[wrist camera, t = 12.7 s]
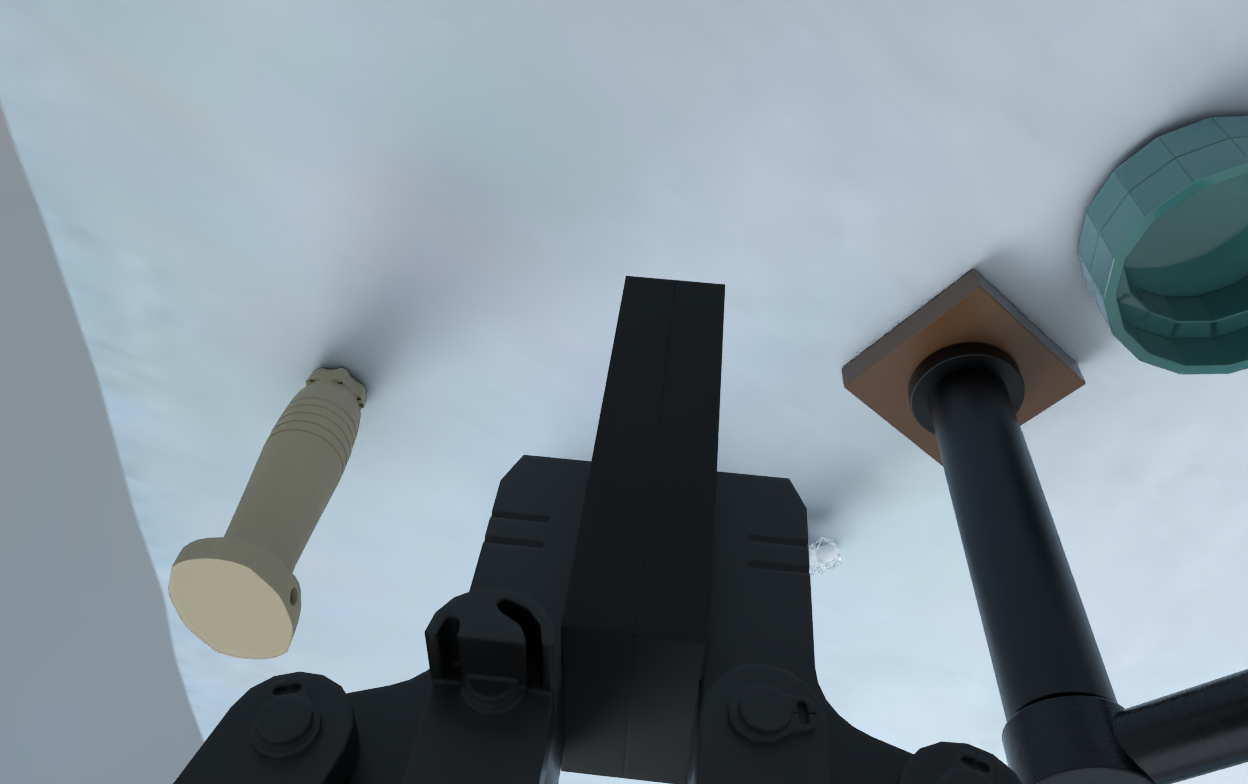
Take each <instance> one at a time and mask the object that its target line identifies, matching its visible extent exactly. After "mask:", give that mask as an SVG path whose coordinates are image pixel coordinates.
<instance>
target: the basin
mask: <svg viewBox="0 0 1248 784" xmlns="http://www.w3.org/2000/svg"><path fill="white" fill-rule="evenodd" d="M1078 255H1079V258H1080V262H1081V266H1082V269H1083V273H1084V277H1085V280H1086V284H1087V286H1088V288H1089V290H1090V292H1091V293H1092V295H1093V297H1094V299H1095V301H1096V303H1097V305H1098V307H1099V309H1100V311H1101V313H1102V315H1103V317H1104V319H1105V321H1106V323H1107V325H1108V326H1109V328H1110V330H1111V332H1112V334H1113V336H1114V337H1116V338H1117V339H1118V340H1119V341H1120V342H1121V343H1122V344H1123V345H1124V346H1125V347H1126V348H1127V349H1128V350H1129V351H1130V352H1131V353H1132V354H1133V355H1134V356H1135V357H1136V358H1137V359H1138V360H1140V361H1142V362H1145V363H1148V364H1151V365H1154V366H1157V367H1160V368H1163V369H1166V370H1169V371H1172V372H1175V373H1178V374H1229V373H1233V372H1237V371H1240V370H1244V369H1247V368H1248V116H1228V117H1212V118H1211V117H1209V118H1206V119H1204V120H1201V121H1198V122H1196V123H1193V124H1190V125H1188V126H1185V127H1182V128H1180V129H1177V130H1174V131H1172V132H1169V133H1166V134H1164V135H1161V136H1159V137H1157V138H1155V139H1154V140H1153V141H1151V142H1150V143H1149V144H1147V145H1146V146H1145V147H1143V148H1142V149H1141V150H1139V151H1138V152H1137V153H1135V154H1134V155H1133V156H1131V157H1130V158H1129V159H1127V160H1126V161H1125V162H1124V163H1122V164H1121V165H1120V166H1118V167H1117V168H1116V169H1115V170H1114V171H1113V172H1112V174H1111V175H1110V176H1109V178H1108V179H1107V181H1106V182H1105V184H1104V185H1103V186H1102V188H1101V189H1100V191H1099V192H1098V194H1097V195H1096V196H1095V198H1094V199H1093V201H1092V202H1091V204H1090V205H1089V206H1088V208H1087V211H1086V215H1085V219H1084V224H1083V228H1082V232H1081V237H1080V241H1079V246H1078Z"/></svg>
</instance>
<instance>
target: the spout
mask: <svg viewBox="0 0 1248 784" xmlns="http://www.w3.org/2000/svg"><path fill="white" fill-rule="evenodd" d="M1002 742H1003V746H1004V750H1005V754H1006V758H1007V762H1008V767H1009V768H1010V769H1012V770H1013V771H1014V772H1015V773H1016V775H1017V776H1018V777H1019V779H1020V780H1021V782H1022V783H1023V784H1172V783H1176V782H1179V781H1183V780H1186V779H1190V778H1193V777H1197V776H1200V775H1204V774H1207V773H1211V772H1214V771H1217V770H1221V769H1224V768H1228V767H1231V766H1235V765H1238V764H1242V763H1245V762H1248V669H1247V670H1244V671H1240V672H1237V673H1234V674H1231V675H1228V676H1225V677H1222V678H1219V679H1216V680H1213V681H1210V682H1207V683H1204V684H1201V685H1198V686H1195V687H1192V688H1189V689H1185V690H1182V691H1179V692H1176V693H1173V694H1170V695H1167V696H1164V697H1161V698H1158V699H1155V700H1152V701H1149V702H1146V703H1143V704H1140V705H1137V706H1133V707H1130V708H1127V709H1125V708H1123V707H1122V706H1120V705H1119V704H1117V703H1115V702H1112V701H1110V700H1107V699H1103V698H1099V697H1093V696H1083V695H1072V696H1061V697H1055V698H1050V699H1046V700H1043V701H1039V702H1037V703H1034V704H1032V705H1029V706H1027V707H1025V708H1024V709H1022V710H1020V711H1019V712H1017V713H1016V714H1015V715H1014V716H1012V718H1011V719H1010V720H1009V721H1008V722H1007V724H1006V725H1005V727H1004V729H1003V733H1002Z"/></svg>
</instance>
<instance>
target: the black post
mask: <svg viewBox="0 0 1248 784" xmlns="http://www.w3.org/2000/svg"><path fill="white" fill-rule="evenodd" d="M842 376H843V383H844V387H845V388H846V389H847V390H848V391H850V392H851V393H852V394H853V395H855V396H856V397H857V398H858V399H860V400H861V401H862V402H863V403H865V404H866V405H867V406H868V407H870V408H871V409H872V410H873V411H875V412H876V413H877V414H878V415H880V416H881V417H882V418H883V419H885V420H886V421H887V422H888V423H890V424H891V425H892V426H893V427H895V428H896V429H897V430H898V431H900V432H901V433H902V434H903V435H905V436H906V437H907V438H908V439H910V440H911V441H912V442H913V443H915V444H916V445H917V446H918V447H920V448H921V449H922V450H923V451H925V452H926V453H927V454H928V455H930V456H931V457H932V458H933V459H935V460H936V461H937V462H938V463H940V464H941V465H942V466H943V467H944V471H945V475H946V479H947V483H948V487H949V491H950V495H951V499H952V503H953V507H954V511H955V515H956V519H957V523H958V527H959V531H960V535H961V539H962V543H963V547H964V551H965V555H966V559H967V563H968V567H969V571H970V575H971V579H972V583H973V587H974V591H975V595H976V599H977V603H978V607H979V611H980V615H981V620H982V624H983V628H984V632H985V636H986V640H987V644H988V648H989V652H990V656H991V660H992V664H993V668H994V672H995V676H996V680H997V684H998V688H999V692H1000V696H1001V700H1002V704H1003V708H1004V712H1005V716H1006V720H1007V722H1008V721H1009V720H1010V719H1011V718H1012V716H1014V715H1015V714H1016V713H1017V712H1019V711H1020V710H1022V709H1024V708H1025V707H1027V706H1029V705H1032V704H1034V703H1037V702H1039V701H1043V700H1046V699H1050V698H1055V697H1061V696H1072V695H1083V696H1093V697H1099V698H1103V699H1107V700H1110V701H1112V702H1115V703H1117V700H1116V697H1115V695H1114V692H1113V689H1112V686H1111V683H1110V680H1109V678H1108V675H1107V672H1106V669H1105V666H1104V663H1103V661H1102V658H1101V655H1100V652H1099V649H1098V646H1097V643H1096V641H1095V638H1094V635H1093V632H1092V629H1091V626H1090V624H1089V621H1088V618H1087V615H1086V612H1085V609H1084V607H1083V604H1082V601H1081V598H1080V595H1079V592H1078V589H1077V587H1076V584H1075V581H1074V578H1073V575H1072V572H1071V570H1070V567H1069V564H1068V561H1067V558H1066V555H1065V553H1064V550H1063V547H1062V544H1061V541H1060V538H1059V536H1058V533H1057V530H1056V527H1055V524H1054V521H1053V518H1052V516H1051V513H1050V510H1049V507H1048V504H1047V501H1046V499H1045V496H1044V493H1043V490H1042V487H1041V484H1040V482H1039V479H1038V476H1037V473H1036V470H1035V467H1034V464H1033V462H1032V459H1031V456H1030V453H1029V450H1028V447H1027V445H1026V442H1025V439H1024V436H1023V433H1022V430H1021V428H1020V426H1021V425H1022V424H1024V423H1025V422H1027V421H1028V420H1030V419H1031V418H1033V417H1035V416H1036V415H1038V414H1039V413H1041V412H1042V411H1044V410H1045V409H1047V408H1049V407H1050V406H1052V405H1053V404H1055V403H1056V402H1058V401H1059V400H1061V399H1063V398H1064V397H1066V396H1067V395H1069V394H1070V393H1072V392H1073V391H1075V390H1077V389H1078V388H1080V387H1081V386H1083V385H1084V384H1085V380H1084V378H1083V376H1082V374H1081V372H1080V369H1079V367H1078V365H1077V364H1076V363H1075V362H1074V361H1073V360H1072V359H1071V358H1070V357H1068V356H1067V355H1066V354H1065V353H1064V352H1063V351H1062V350H1061V349H1060V348H1059V347H1058V346H1057V345H1055V344H1054V343H1053V342H1052V341H1051V340H1050V339H1049V338H1048V337H1047V336H1046V335H1045V334H1044V333H1042V332H1041V331H1040V330H1039V329H1038V328H1037V327H1036V326H1035V325H1034V324H1033V323H1032V322H1031V321H1030V320H1028V319H1027V318H1026V317H1025V316H1024V315H1023V314H1022V313H1021V312H1020V311H1019V310H1018V309H1017V308H1015V307H1014V306H1013V305H1012V304H1011V303H1010V302H1009V301H1008V300H1007V299H1006V298H1005V297H1004V296H1002V295H1001V294H1000V293H999V292H998V291H997V290H996V289H995V288H994V287H993V286H992V285H991V284H990V283H988V282H987V281H986V280H985V279H984V278H983V277H982V276H981V275H980V274H979V273H978V272H977V271H975V270H974V269H972V270H971V271H970V272H968V273H967V274H966V275H964V276H963V277H962V278H960V279H959V280H958V281H956V282H955V283H954V284H953V285H951V286H950V287H949V288H947V289H946V290H945V291H943V292H942V293H941V294H939V295H938V296H937V297H935V298H934V299H933V300H931V301H930V302H929V303H928V304H926V305H925V306H924V307H922V308H921V309H920V310H918V311H917V312H916V313H914V314H913V315H912V316H910V317H909V318H908V319H906V320H905V321H904V322H903V323H901V324H900V325H899V326H897V327H896V328H895V329H893V330H892V331H891V332H889V333H888V334H887V335H885V336H884V337H883V338H881V339H880V340H879V341H877V342H876V343H875V344H874V345H872V346H871V347H870V348H868V349H867V350H866V351H864V352H863V353H862V354H860V355H859V356H858V357H856V358H855V359H854V360H852V361H851V362H850V363H849V364H847V365H846V366H845V367H843V368H842ZM1117 704H1118V703H1117Z"/></svg>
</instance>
